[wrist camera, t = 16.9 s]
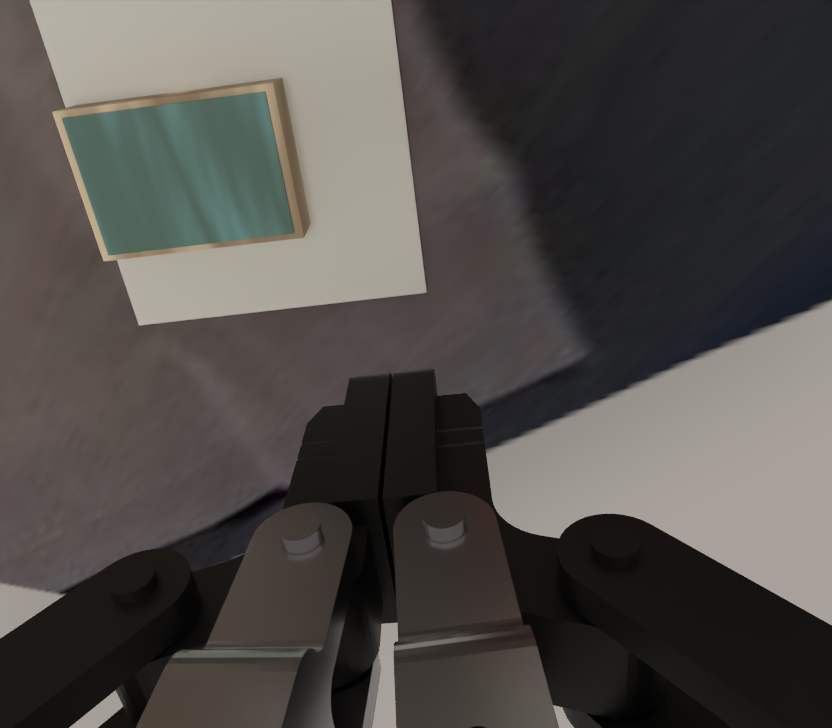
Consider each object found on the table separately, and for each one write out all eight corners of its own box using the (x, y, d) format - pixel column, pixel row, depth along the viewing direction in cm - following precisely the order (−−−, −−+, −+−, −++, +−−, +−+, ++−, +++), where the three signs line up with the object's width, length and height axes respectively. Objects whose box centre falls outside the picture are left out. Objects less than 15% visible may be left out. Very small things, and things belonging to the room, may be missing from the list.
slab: (272, 83, 30) (50, 112, 30) (303, 238, 33) (102, 262, 34) (282, 77, 32) (75, 105, 33) (310, 223, 35) (122, 246, 36)
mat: (385, -50, 30) (384, -50, 30) (426, 289, 37) (426, 292, 37) (33, 0, 31) (29, 0, 31) (141, 322, 38) (139, 325, 38)
